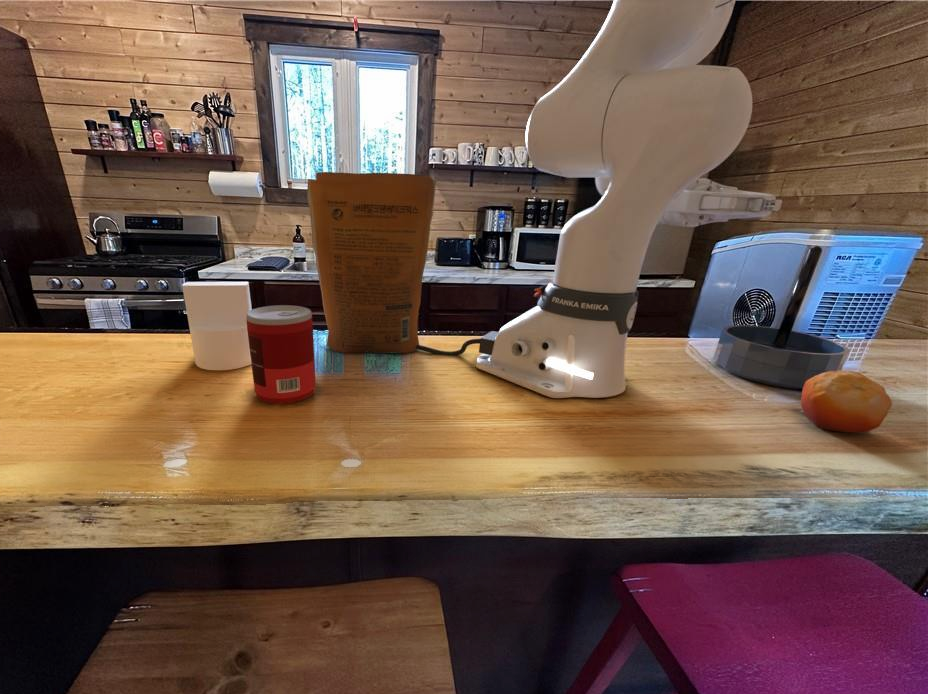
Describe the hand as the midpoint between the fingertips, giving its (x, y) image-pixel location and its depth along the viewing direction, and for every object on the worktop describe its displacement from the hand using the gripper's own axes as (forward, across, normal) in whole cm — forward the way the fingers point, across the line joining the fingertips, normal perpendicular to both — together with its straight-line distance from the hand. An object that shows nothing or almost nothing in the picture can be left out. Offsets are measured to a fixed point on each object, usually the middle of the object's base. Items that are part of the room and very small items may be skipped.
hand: (755, 204), depth 74 cm
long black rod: (+12, 0, +25) cm, 28 cm away
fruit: (+29, -11, +26) cm, 41 cm away
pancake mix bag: (-7, -64, +26) cm, 70 cm away
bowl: (+12, 0, +26) cm, 29 cm away
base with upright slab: (-4, -88, +26) cm, 92 cm away
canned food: (+10, -78, +26) cm, 83 cm away
